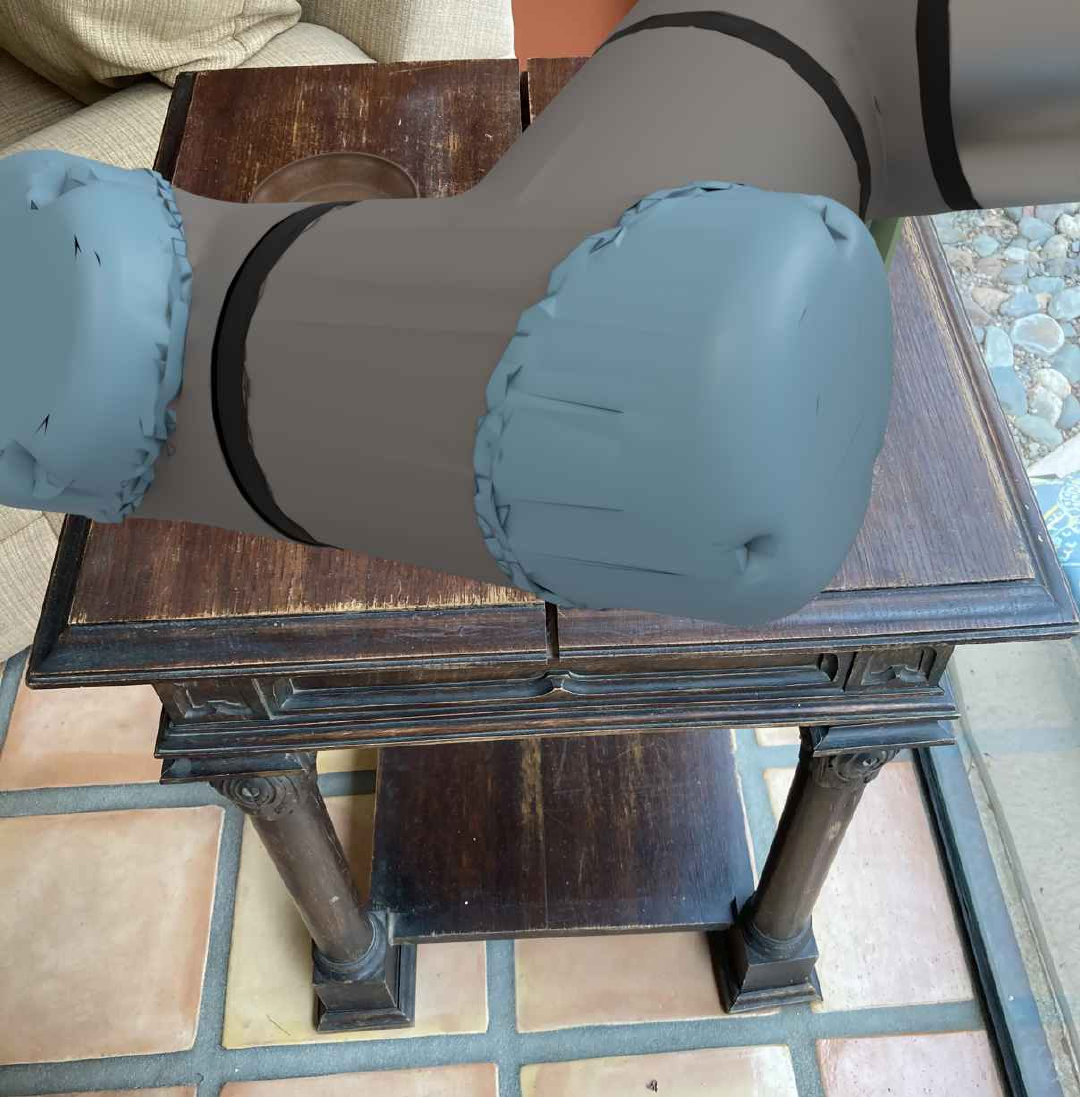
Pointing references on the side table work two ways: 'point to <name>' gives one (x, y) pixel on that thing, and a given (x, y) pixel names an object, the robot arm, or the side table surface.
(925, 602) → the side table surface
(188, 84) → the side table surface
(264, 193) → the saucer
